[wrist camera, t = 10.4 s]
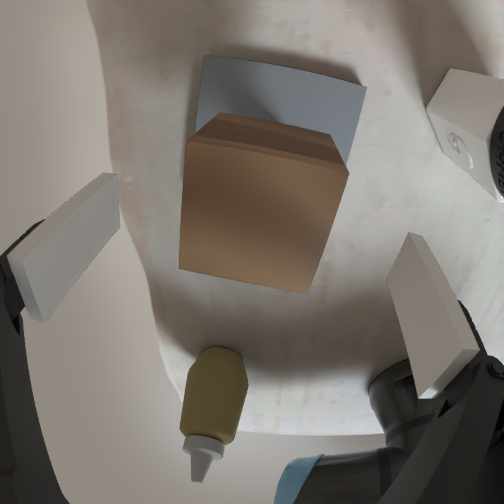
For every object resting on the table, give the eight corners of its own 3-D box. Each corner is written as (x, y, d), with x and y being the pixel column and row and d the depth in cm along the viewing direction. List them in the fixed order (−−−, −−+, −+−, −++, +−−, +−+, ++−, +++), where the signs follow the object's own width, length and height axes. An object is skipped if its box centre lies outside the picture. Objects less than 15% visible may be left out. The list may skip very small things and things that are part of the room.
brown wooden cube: (304, 227, 19) (307, 294, 14) (207, 208, 19) (179, 268, 14) (330, 134, 16) (349, 173, 11) (219, 112, 16) (186, 140, 11)
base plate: (326, 215, 28) (327, 224, 27) (193, 190, 28) (189, 197, 27) (362, 85, 21) (366, 87, 20) (209, 55, 21) (204, 55, 20)
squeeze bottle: (185, 359, 43) (152, 474, 28) (208, 332, 39) (173, 466, 24) (234, 380, 45) (214, 492, 30) (263, 356, 40) (247, 486, 26)
